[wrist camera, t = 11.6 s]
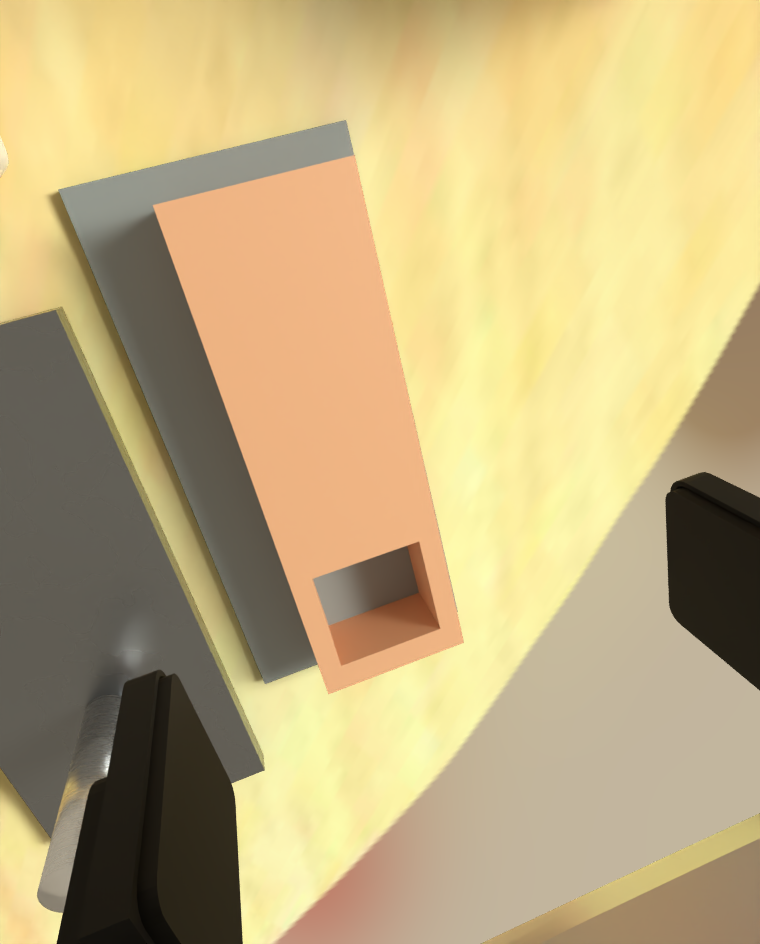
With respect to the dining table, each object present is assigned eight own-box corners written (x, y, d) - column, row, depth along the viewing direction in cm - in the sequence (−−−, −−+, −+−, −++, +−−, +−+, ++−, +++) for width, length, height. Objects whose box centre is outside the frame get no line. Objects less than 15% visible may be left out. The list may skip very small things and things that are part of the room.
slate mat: (60, 190, 20) (58, 189, 20) (343, 121, 22) (345, 120, 21) (264, 678, 29) (265, 683, 29) (454, 607, 31) (457, 611, 30)
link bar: (159, 209, 21) (152, 205, 18) (336, 165, 22) (354, 155, 19) (317, 651, 29) (328, 694, 26) (440, 605, 30) (463, 642, 27)
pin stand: (-245, 389, 20) (-553, 493, 12) (62, 306, 21) (-28, 349, 13) (64, 832, 29) (9, 1059, 21) (263, 754, 31) (282, 938, 23)
